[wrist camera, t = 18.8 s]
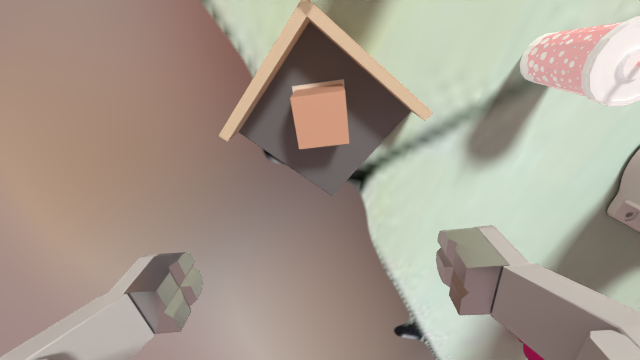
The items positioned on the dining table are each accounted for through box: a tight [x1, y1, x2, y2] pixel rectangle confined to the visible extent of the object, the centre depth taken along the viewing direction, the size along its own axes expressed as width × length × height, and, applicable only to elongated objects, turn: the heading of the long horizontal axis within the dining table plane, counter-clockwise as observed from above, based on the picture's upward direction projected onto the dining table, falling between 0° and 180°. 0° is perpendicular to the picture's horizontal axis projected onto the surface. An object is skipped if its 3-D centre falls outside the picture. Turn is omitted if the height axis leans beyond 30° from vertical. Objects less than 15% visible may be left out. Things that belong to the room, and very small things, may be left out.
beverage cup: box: [520, 16, 640, 106], centre depth 20 cm, size 6×6×14 cm
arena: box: [219, 0, 433, 195], centre depth 27 cm, size 15×15×5 cm
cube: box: [290, 84, 349, 149], centre depth 27 cm, size 5×5×5 cm
